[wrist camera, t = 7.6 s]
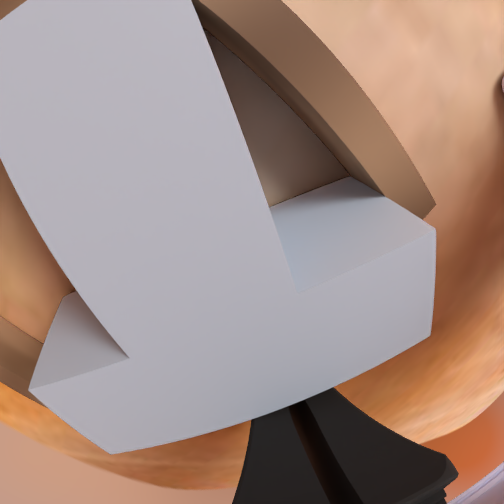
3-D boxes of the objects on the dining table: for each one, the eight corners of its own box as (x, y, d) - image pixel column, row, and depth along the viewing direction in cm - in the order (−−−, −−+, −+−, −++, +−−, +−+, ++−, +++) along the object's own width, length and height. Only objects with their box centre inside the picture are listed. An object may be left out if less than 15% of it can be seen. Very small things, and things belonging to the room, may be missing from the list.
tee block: (365, 264, 11) (430, 335, 8) (118, 363, 11) (110, 454, 7) (286, -27, 6) (356, -86, 3) (-31, 125, 6) (-119, 159, 2)
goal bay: (398, 182, 10) (447, 211, 8) (147, 412, 13) (148, 457, 11) (119, -79, 4) (103, -121, 2) (-76, 275, 7) (-105, 311, 5)
